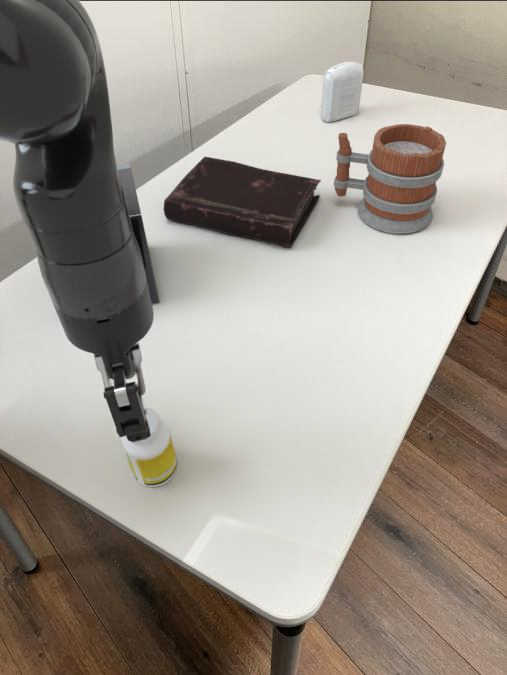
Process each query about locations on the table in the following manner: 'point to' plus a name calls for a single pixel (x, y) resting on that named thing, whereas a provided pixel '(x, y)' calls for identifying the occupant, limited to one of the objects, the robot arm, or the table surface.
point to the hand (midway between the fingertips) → (135, 402)
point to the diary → (243, 201)
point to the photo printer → (341, 91)
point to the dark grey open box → (144, 255)
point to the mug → (395, 177)
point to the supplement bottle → (152, 454)
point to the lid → (129, 188)
